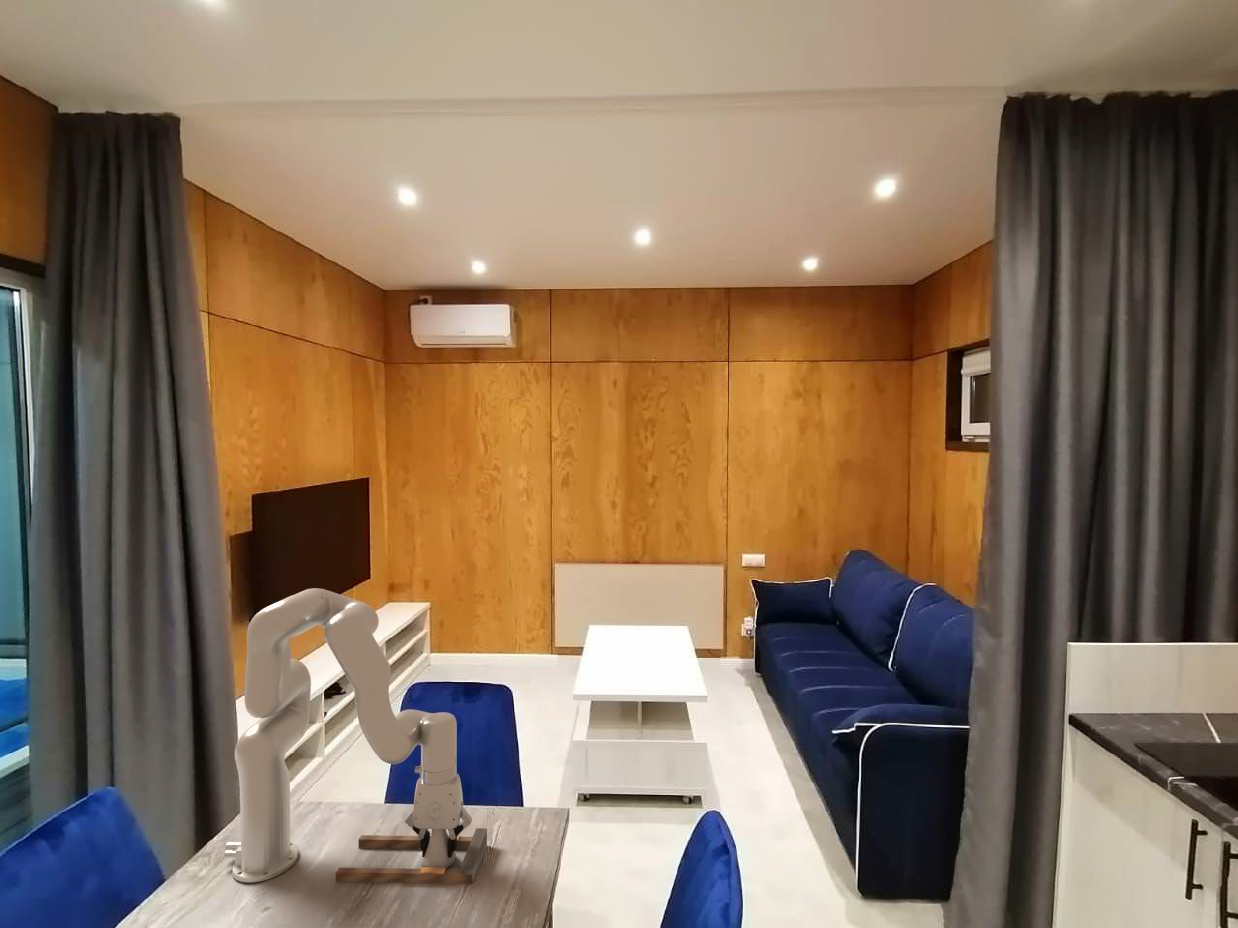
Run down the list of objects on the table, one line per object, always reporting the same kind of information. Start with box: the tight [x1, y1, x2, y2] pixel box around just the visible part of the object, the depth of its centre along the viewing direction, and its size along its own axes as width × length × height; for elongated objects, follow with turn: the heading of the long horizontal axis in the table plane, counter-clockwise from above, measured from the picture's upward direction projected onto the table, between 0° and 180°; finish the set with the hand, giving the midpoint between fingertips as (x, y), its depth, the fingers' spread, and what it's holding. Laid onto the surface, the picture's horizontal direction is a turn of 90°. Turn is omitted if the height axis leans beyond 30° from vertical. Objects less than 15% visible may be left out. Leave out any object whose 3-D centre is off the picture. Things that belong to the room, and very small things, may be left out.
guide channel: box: [335, 827, 488, 885], centre depth 135 cm, size 29×13×4 cm, turn 89°
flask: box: [420, 829, 456, 869], centre depth 135 cm, size 7×7×10 cm
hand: (438, 852), depth 135 cm, fingers closed on flask, 4 cm apart
